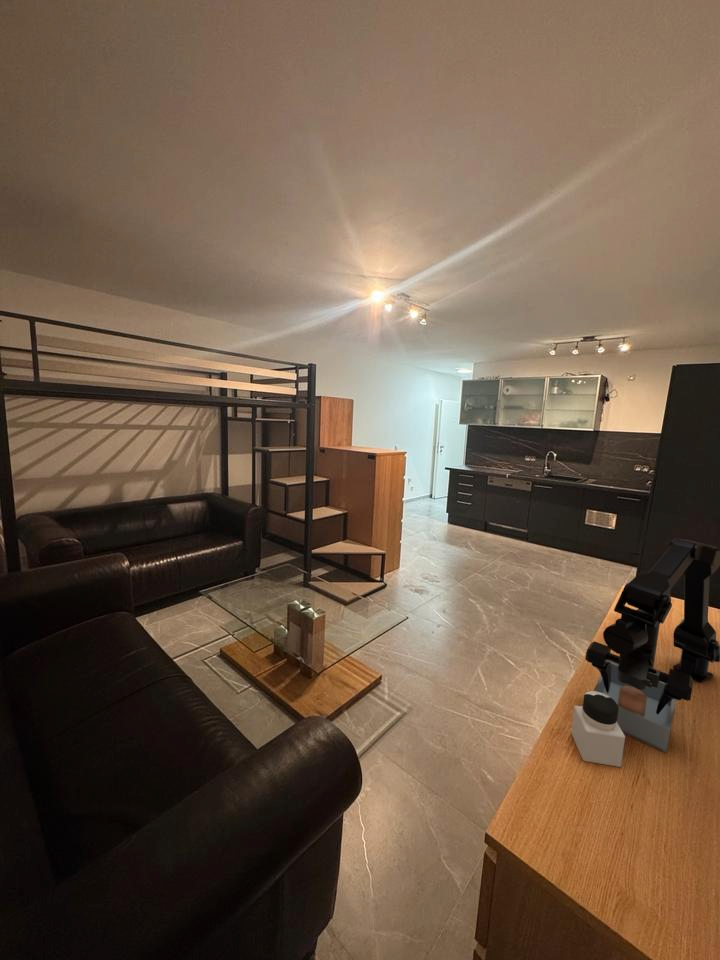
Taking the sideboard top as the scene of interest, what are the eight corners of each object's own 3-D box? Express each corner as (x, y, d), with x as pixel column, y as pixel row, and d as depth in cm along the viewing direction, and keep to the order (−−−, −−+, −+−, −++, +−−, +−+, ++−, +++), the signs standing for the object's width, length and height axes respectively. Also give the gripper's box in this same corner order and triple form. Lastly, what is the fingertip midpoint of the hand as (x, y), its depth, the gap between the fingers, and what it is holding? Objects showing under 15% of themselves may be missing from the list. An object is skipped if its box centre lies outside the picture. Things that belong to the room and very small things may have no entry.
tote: (605, 679, 100) (607, 660, 99) (674, 708, 90) (677, 687, 89) (588, 715, 88) (591, 695, 87) (666, 753, 78) (670, 730, 77)
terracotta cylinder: (614, 709, 89) (617, 683, 88) (639, 716, 87) (643, 689, 86) (618, 725, 84) (622, 697, 83) (645, 733, 82) (649, 704, 81)
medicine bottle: (622, 768, 75) (629, 714, 73) (582, 761, 76) (588, 709, 74) (606, 738, 82) (612, 689, 80) (570, 733, 83) (576, 684, 81)
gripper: (582, 636, 83) (575, 699, 86) (694, 676, 70) (682, 749, 73) (595, 617, 91) (588, 675, 93) (698, 650, 78) (687, 717, 81)
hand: (631, 702), depth 85 cm, fingers open, 9 cm apart
